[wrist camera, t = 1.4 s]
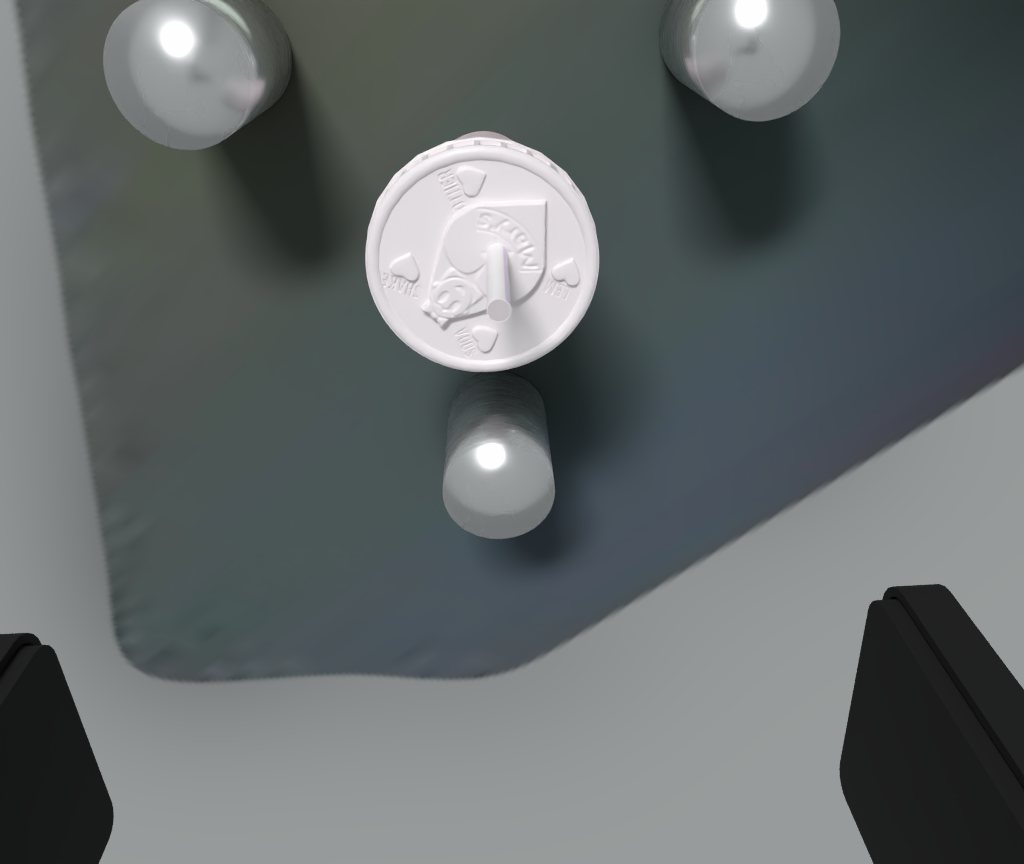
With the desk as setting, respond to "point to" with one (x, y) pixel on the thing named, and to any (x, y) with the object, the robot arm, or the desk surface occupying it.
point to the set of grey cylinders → (263, 79)
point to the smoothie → (482, 254)
